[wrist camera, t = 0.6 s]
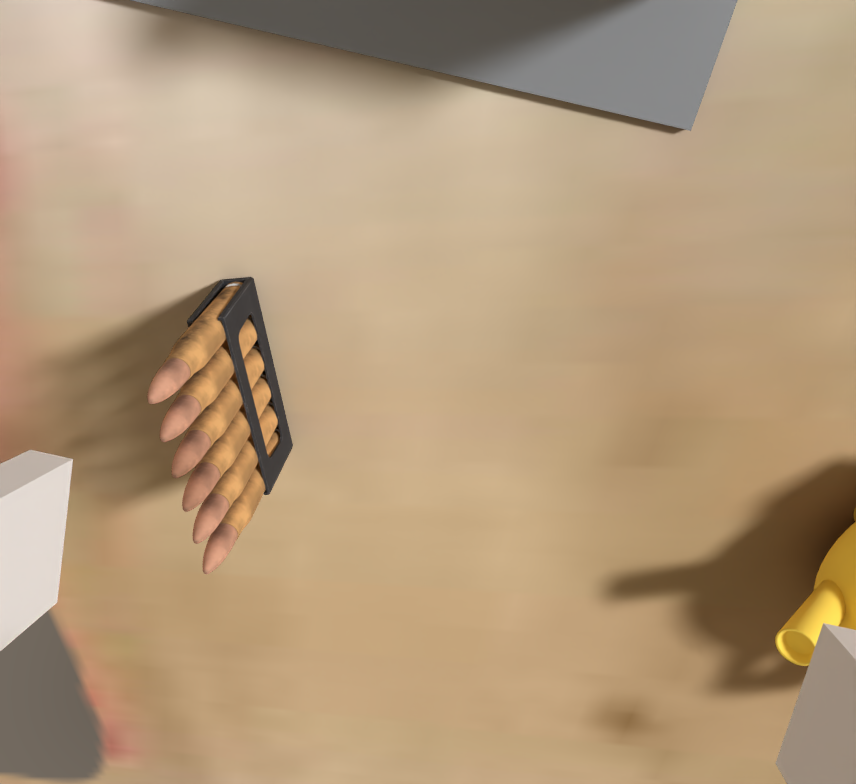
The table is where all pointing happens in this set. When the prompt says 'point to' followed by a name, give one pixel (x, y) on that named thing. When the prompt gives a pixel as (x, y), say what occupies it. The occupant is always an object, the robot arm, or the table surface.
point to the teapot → (824, 602)
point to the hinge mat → (519, 43)
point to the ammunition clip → (224, 414)
